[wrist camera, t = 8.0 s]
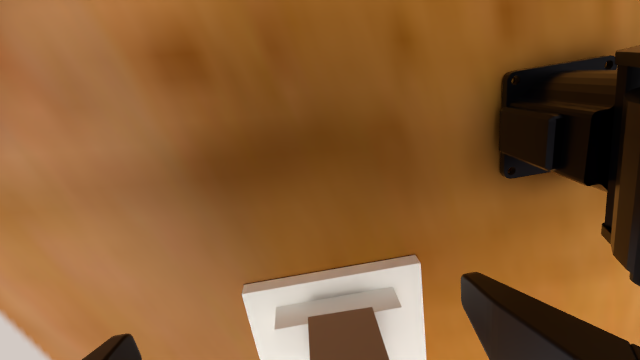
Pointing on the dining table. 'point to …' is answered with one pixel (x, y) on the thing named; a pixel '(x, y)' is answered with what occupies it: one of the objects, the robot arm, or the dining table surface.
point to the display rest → (339, 307)
